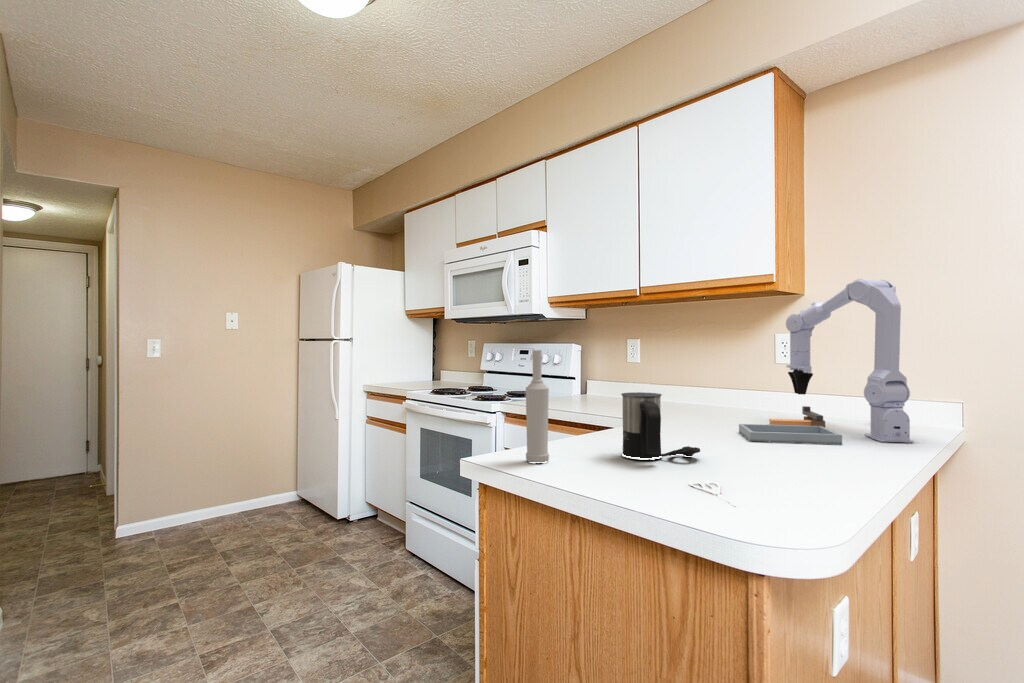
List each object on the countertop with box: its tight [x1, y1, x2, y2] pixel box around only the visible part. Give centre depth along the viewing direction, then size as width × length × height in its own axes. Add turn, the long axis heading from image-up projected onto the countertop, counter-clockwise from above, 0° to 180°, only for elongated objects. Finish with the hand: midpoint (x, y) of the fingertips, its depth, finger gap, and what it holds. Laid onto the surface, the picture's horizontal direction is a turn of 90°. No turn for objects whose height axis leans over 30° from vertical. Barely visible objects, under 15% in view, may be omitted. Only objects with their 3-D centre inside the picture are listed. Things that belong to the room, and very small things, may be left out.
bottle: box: [525, 349, 550, 462], centre depth 118 cm, size 5×5×25 cm
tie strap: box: [801, 405, 824, 420], centre depth 159 cm, size 12×2×2 cm, turn 168°
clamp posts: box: [803, 415, 826, 428], centre depth 157 cm, size 9×3×3 cm, turn 168°
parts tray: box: [738, 423, 843, 445], centre depth 144 cm, size 14×22×2 cm, turn 78°
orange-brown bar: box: [768, 418, 812, 426], centre depth 158 cm, size 4×14×3 cm, turn 74°
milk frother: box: [620, 391, 701, 458], centre depth 121 cm, size 14×16×15 cm
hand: (800, 393), depth 169 cm, fingers open, 2 cm apart
